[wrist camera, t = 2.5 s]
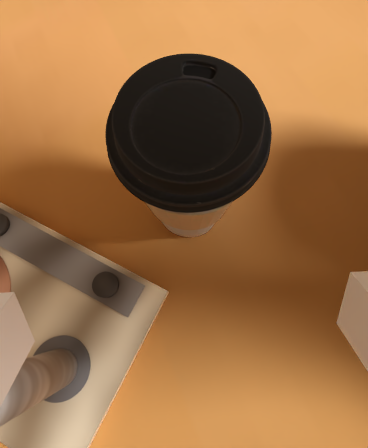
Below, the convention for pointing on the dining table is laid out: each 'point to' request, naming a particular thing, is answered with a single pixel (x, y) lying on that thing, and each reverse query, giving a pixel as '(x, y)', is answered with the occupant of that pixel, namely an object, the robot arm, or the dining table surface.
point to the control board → (68, 333)
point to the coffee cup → (188, 139)
